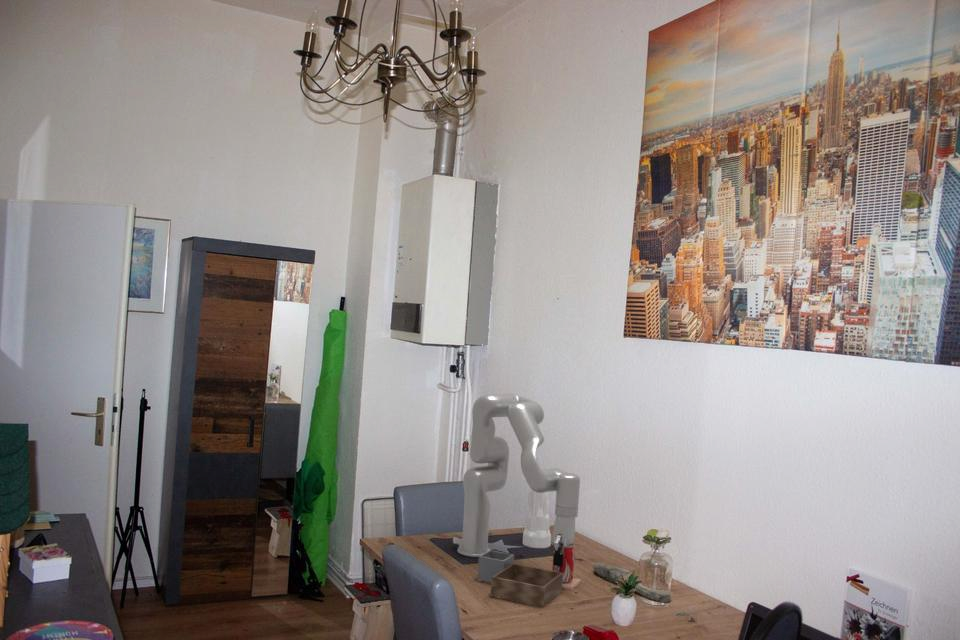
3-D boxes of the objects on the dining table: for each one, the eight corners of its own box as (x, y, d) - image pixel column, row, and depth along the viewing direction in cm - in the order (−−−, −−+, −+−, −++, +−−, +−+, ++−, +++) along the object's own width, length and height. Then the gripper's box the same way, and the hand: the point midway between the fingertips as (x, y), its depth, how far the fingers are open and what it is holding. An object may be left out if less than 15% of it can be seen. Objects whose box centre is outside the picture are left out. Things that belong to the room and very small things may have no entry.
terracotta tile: (542, 584, 265) (543, 581, 265) (553, 576, 274) (553, 573, 274) (571, 590, 261) (572, 587, 261) (581, 581, 270) (581, 579, 270)
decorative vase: (532, 539, 320) (536, 476, 320) (555, 544, 314) (559, 480, 314) (517, 544, 312) (521, 479, 312) (540, 550, 305) (544, 484, 305)
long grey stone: (655, 609, 252) (677, 607, 257) (657, 593, 252) (679, 590, 257) (584, 570, 282) (605, 569, 287) (586, 555, 282) (607, 554, 287)
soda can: (572, 584, 264) (574, 548, 264) (550, 582, 265) (553, 545, 265) (573, 578, 270) (576, 542, 271) (552, 576, 272) (555, 540, 272)
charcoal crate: (477, 580, 264) (478, 556, 265) (488, 573, 273) (489, 550, 273) (502, 585, 261) (503, 561, 261) (512, 578, 269) (514, 554, 269)
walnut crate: (490, 596, 250) (491, 576, 250) (511, 581, 266) (513, 563, 266) (543, 607, 243) (544, 587, 243) (561, 591, 259) (562, 573, 259)
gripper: (564, 504, 277) (560, 553, 277) (546, 514, 261) (543, 566, 261) (585, 507, 274) (581, 557, 274) (568, 517, 258) (565, 570, 258)
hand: (562, 561), depth 268 cm, fingers open, 9 cm apart
